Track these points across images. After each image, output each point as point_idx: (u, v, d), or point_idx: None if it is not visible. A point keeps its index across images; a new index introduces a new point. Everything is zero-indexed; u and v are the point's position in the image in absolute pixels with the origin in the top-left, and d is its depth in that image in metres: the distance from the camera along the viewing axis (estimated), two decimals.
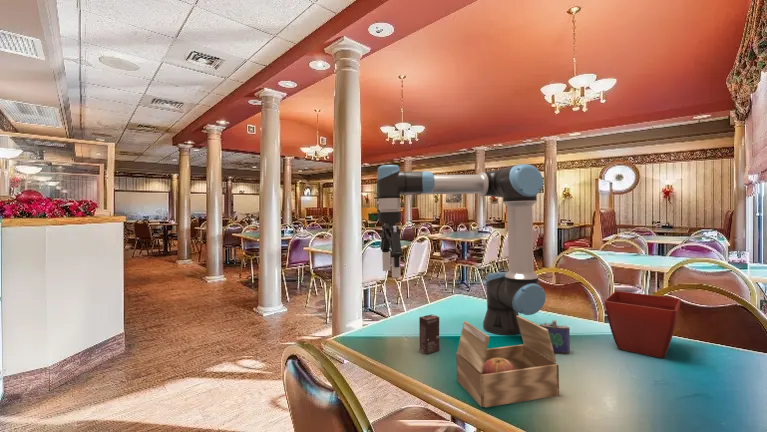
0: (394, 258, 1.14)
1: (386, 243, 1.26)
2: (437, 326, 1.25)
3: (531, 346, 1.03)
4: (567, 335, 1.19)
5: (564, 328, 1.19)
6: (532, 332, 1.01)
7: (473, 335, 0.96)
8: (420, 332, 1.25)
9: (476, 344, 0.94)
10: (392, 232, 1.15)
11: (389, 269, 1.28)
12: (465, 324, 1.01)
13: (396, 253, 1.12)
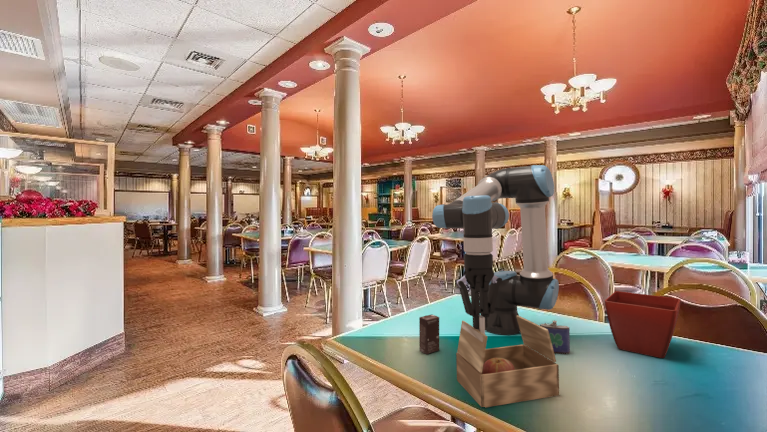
0: None
1: (481, 298, 0.97)
2: (437, 326, 1.25)
3: (531, 346, 1.03)
4: (567, 335, 1.19)
5: (564, 328, 1.19)
6: (532, 332, 1.01)
7: (471, 335, 0.96)
8: (420, 332, 1.25)
9: (475, 344, 0.94)
10: (459, 287, 0.96)
11: None
12: (463, 324, 1.01)
13: (466, 311, 0.96)
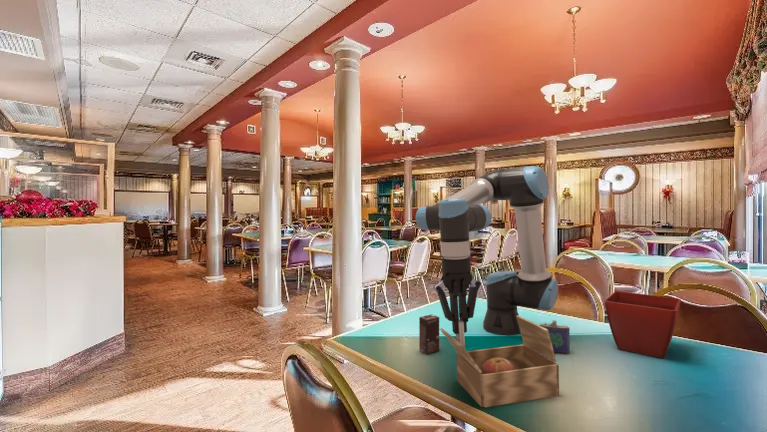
0: None
1: (460, 303, 0.95)
2: (437, 326, 1.25)
3: (531, 346, 1.03)
4: (567, 335, 1.19)
5: (564, 328, 1.19)
6: (532, 332, 1.01)
7: (453, 342, 0.95)
8: (420, 332, 1.25)
9: (460, 350, 0.93)
10: (437, 292, 0.95)
11: None
12: (442, 332, 1.00)
13: (445, 316, 0.95)
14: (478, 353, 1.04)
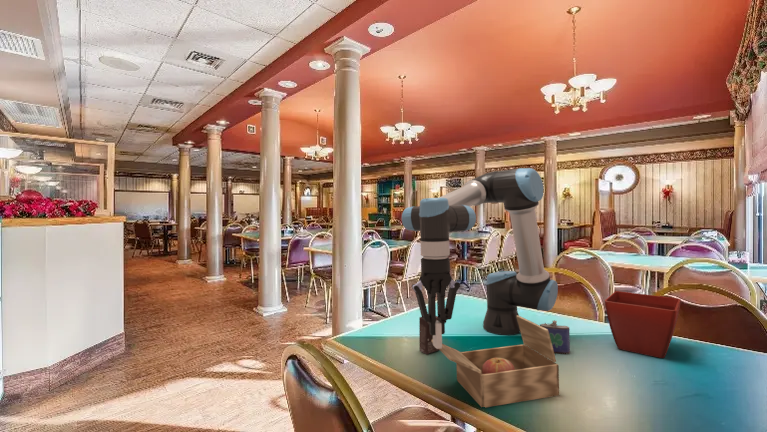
0: None
1: (438, 304, 0.94)
2: None
3: (531, 346, 1.03)
4: (567, 335, 1.19)
5: (564, 328, 1.19)
6: (532, 332, 1.01)
7: None
8: (420, 332, 1.25)
9: None
10: (415, 292, 0.94)
11: None
12: None
13: (422, 316, 0.94)
14: (478, 353, 1.04)
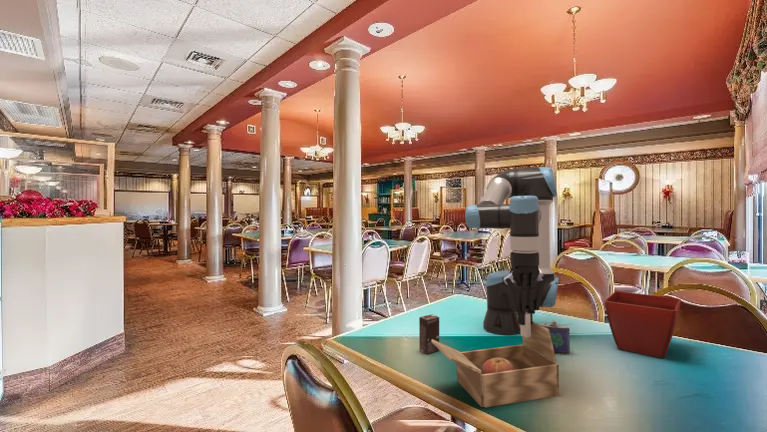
0: None
1: (526, 295, 1.00)
2: (437, 326, 1.25)
3: (531, 346, 1.03)
4: (567, 335, 1.19)
5: (564, 328, 1.19)
6: (532, 332, 1.01)
7: None
8: (420, 332, 1.25)
9: (455, 358, 0.93)
10: (505, 284, 0.99)
11: None
12: (434, 344, 0.99)
13: (512, 307, 1.00)
14: (478, 353, 1.04)
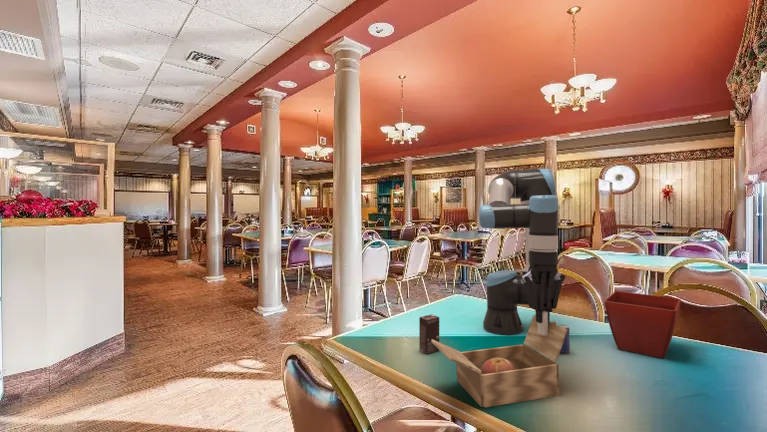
0: None
1: (544, 294, 1.01)
2: (437, 326, 1.25)
3: (533, 345, 1.03)
4: (567, 335, 1.19)
5: None
6: None
7: None
8: (420, 332, 1.25)
9: (455, 358, 0.93)
10: (524, 282, 1.01)
11: None
12: (434, 344, 0.99)
13: (530, 305, 1.01)
14: (478, 353, 1.04)
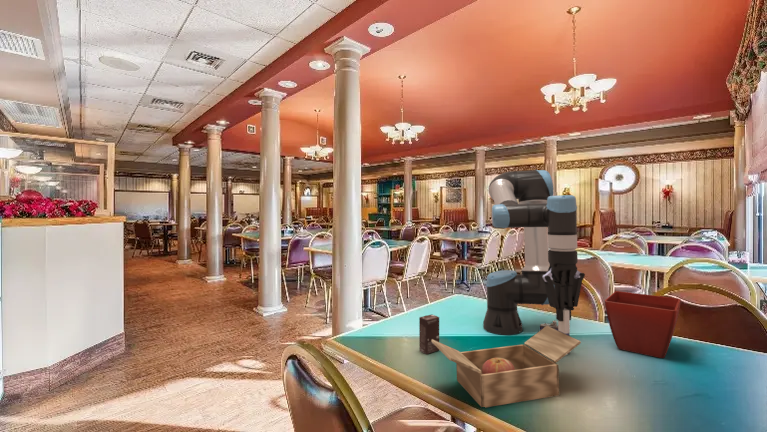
0: None
1: (565, 292, 1.03)
2: (437, 326, 1.25)
3: (534, 346, 1.04)
4: None
5: None
6: (553, 338, 1.02)
7: None
8: (420, 332, 1.25)
9: (455, 358, 0.93)
10: (544, 281, 1.02)
11: None
12: (434, 344, 0.99)
13: (551, 304, 1.02)
14: (478, 353, 1.04)
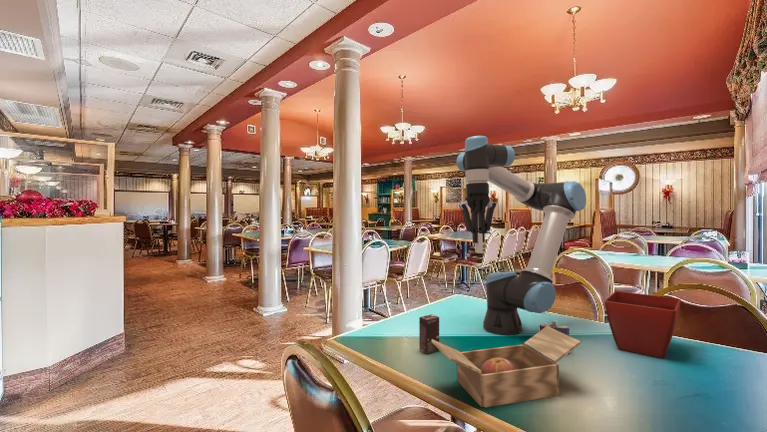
0: None
1: (479, 219, 1.22)
2: (437, 326, 1.25)
3: (534, 346, 1.04)
4: None
5: (564, 328, 1.19)
6: (553, 338, 1.02)
7: None
8: (420, 332, 1.25)
9: (455, 358, 0.93)
10: (462, 210, 1.21)
11: (480, 251, 1.21)
12: (434, 344, 0.99)
13: (467, 229, 1.21)
14: (478, 353, 1.04)
